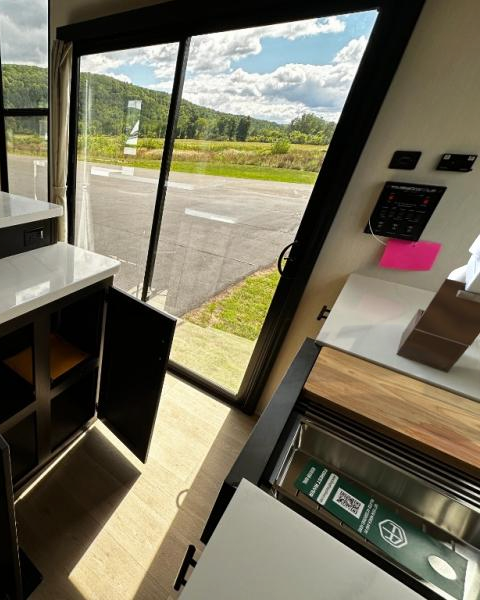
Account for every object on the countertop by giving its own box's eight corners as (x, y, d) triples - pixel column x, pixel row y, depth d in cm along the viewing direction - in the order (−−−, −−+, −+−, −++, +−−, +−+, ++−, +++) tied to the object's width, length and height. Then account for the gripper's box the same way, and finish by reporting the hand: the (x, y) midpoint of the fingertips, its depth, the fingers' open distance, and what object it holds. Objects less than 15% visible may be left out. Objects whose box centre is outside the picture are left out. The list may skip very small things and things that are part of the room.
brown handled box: (445, 278, 86) (446, 281, 83) (509, 292, 79) (512, 297, 76) (414, 327, 93) (413, 332, 89) (470, 345, 86) (471, 351, 82)
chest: (402, 332, 107) (418, 308, 101) (450, 348, 100) (470, 323, 94) (396, 354, 98) (413, 329, 93) (447, 372, 91) (469, 346, 86)
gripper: (519, 266, 73) (480, 314, 81) (514, 241, 85) (480, 285, 92) (479, 258, 77) (445, 305, 85) (479, 235, 89) (449, 278, 96)
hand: (463, 294), depth 88 cm, fingers closed on block, 4 cm apart
